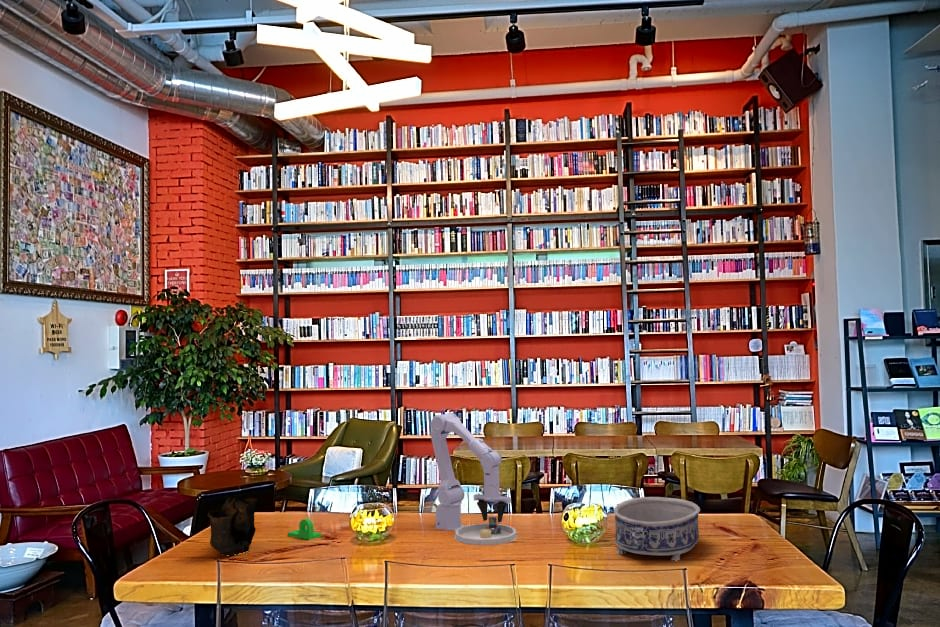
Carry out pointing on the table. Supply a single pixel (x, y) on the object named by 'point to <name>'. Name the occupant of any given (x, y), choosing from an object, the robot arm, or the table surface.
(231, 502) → the pottery vessel
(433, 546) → the table surface
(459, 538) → the carrier
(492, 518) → the planet gear
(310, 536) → the mechanical part
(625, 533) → the decorative bowl
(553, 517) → the table surface
